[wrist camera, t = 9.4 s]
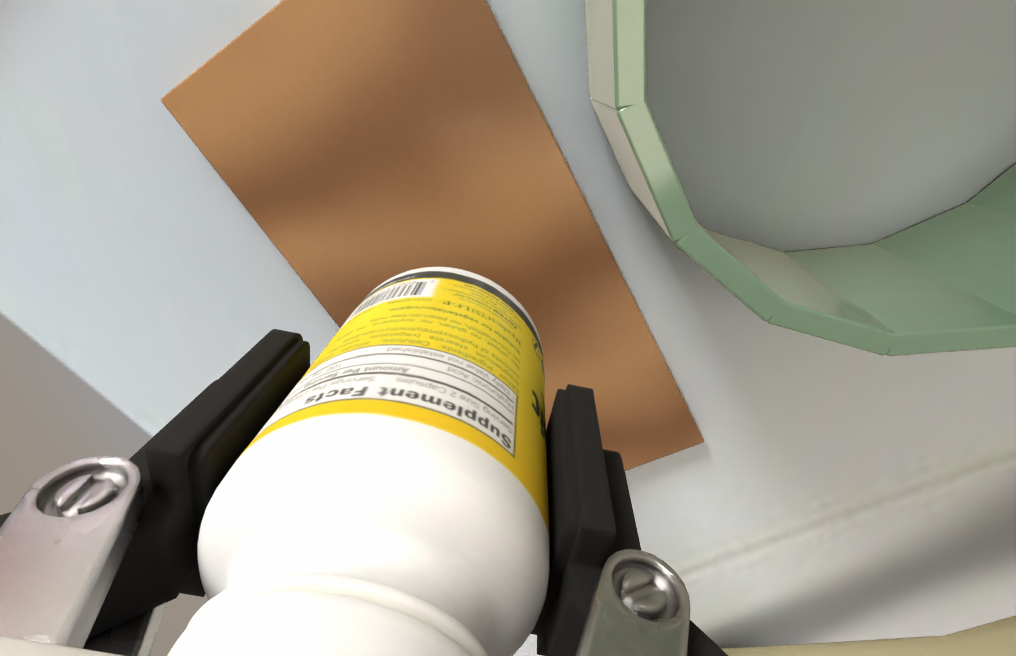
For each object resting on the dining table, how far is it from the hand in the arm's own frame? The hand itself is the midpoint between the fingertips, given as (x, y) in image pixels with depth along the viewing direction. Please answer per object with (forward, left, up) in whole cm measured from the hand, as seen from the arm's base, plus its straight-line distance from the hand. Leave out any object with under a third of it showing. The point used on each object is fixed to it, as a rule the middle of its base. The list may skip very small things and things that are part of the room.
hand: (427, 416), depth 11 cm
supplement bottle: (0, 0, -3) cm, 3 cm away
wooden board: (0, 0, -8) cm, 8 cm away
